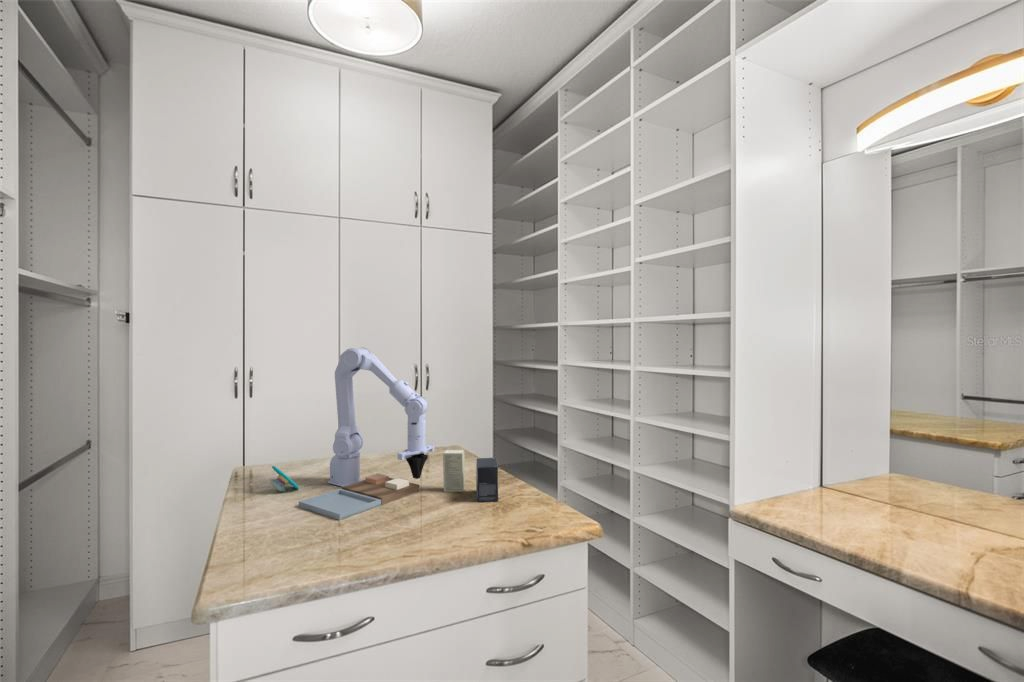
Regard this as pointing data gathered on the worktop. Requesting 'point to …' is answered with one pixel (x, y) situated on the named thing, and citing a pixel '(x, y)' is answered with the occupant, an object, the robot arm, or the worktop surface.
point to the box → (339, 503)
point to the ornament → (282, 481)
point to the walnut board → (381, 490)
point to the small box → (487, 480)
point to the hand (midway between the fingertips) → (416, 477)
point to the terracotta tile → (377, 479)
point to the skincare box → (454, 470)
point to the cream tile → (397, 483)
